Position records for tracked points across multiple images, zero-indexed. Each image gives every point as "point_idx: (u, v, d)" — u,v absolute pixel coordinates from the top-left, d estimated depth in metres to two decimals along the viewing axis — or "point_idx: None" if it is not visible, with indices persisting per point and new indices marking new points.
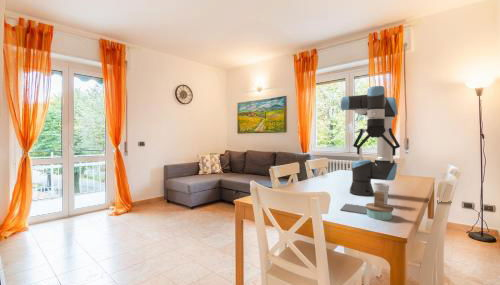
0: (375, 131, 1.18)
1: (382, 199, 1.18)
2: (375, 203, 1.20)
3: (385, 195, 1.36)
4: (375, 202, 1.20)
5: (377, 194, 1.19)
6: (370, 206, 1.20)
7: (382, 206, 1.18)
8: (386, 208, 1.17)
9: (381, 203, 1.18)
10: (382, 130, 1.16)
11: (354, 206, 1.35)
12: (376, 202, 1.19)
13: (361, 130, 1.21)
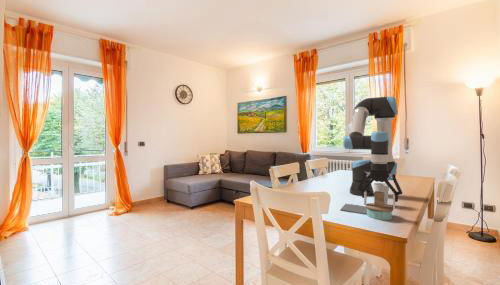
0: (379, 175, 1.19)
1: (382, 199, 1.18)
2: (375, 203, 1.20)
3: (385, 195, 1.36)
4: (375, 202, 1.20)
5: (377, 194, 1.19)
6: (370, 206, 1.20)
7: (382, 206, 1.18)
8: (386, 208, 1.17)
9: (381, 203, 1.18)
10: (386, 175, 1.18)
11: (354, 206, 1.35)
12: (376, 202, 1.19)
13: (365, 174, 1.22)
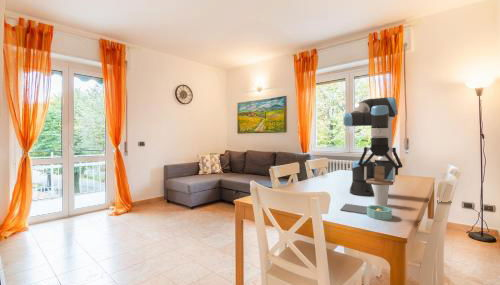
0: (379, 150, 1.19)
1: (382, 173, 1.18)
2: (375, 177, 1.19)
3: (385, 195, 1.36)
4: (375, 177, 1.19)
5: (377, 168, 1.19)
6: (370, 181, 1.20)
7: (382, 180, 1.18)
8: (386, 182, 1.17)
9: (381, 177, 1.18)
10: (386, 149, 1.17)
11: (354, 206, 1.35)
12: (376, 176, 1.19)
13: (365, 149, 1.22)
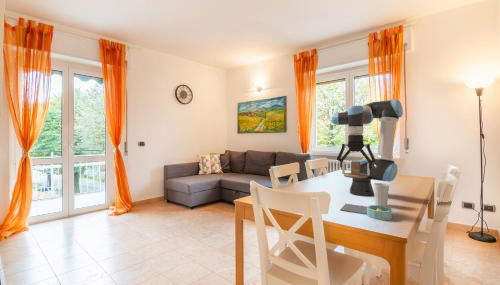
0: (355, 146, 1.30)
1: (358, 167, 1.29)
2: (351, 171, 1.31)
3: (385, 195, 1.36)
4: (352, 170, 1.31)
5: (353, 163, 1.30)
6: (347, 174, 1.32)
7: (358, 174, 1.29)
8: (361, 175, 1.28)
9: (357, 171, 1.29)
10: (361, 145, 1.29)
11: (354, 206, 1.35)
12: (352, 170, 1.31)
13: (343, 145, 1.34)
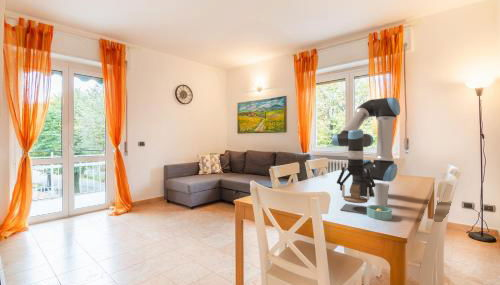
0: (355, 170, 1.31)
1: (357, 191, 1.29)
2: (351, 195, 1.31)
3: (385, 195, 1.36)
4: (352, 194, 1.31)
5: (353, 187, 1.30)
6: (347, 198, 1.32)
7: (357, 198, 1.29)
8: (361, 200, 1.28)
9: (357, 195, 1.30)
10: (361, 170, 1.29)
11: (354, 206, 1.35)
12: (352, 194, 1.31)
13: (343, 168, 1.34)
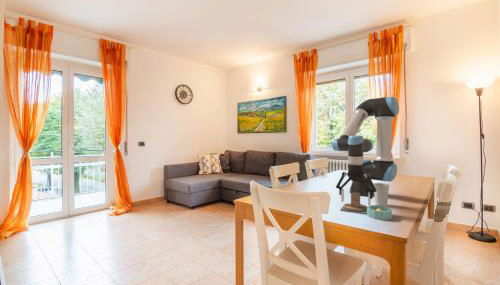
0: (355, 175, 1.31)
1: (358, 200, 1.30)
2: (351, 203, 1.31)
3: (385, 195, 1.36)
4: (352, 203, 1.31)
5: (353, 195, 1.31)
6: (347, 206, 1.32)
7: (358, 206, 1.30)
8: (361, 208, 1.29)
9: (357, 203, 1.30)
10: (361, 175, 1.29)
11: None
12: (352, 202, 1.31)
13: (343, 173, 1.34)
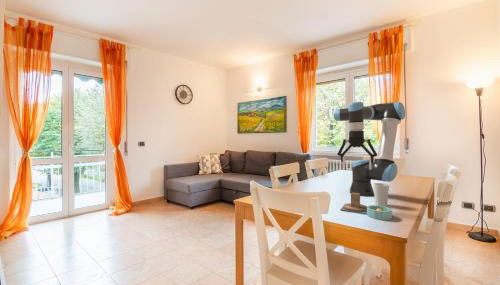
0: (356, 141, 1.34)
1: (357, 200, 1.30)
2: (351, 203, 1.31)
3: (385, 195, 1.36)
4: (352, 203, 1.31)
5: (353, 195, 1.31)
6: (347, 206, 1.32)
7: (358, 206, 1.30)
8: (361, 208, 1.29)
9: (357, 203, 1.30)
10: (362, 141, 1.32)
11: None
12: (352, 202, 1.31)
13: (344, 140, 1.37)
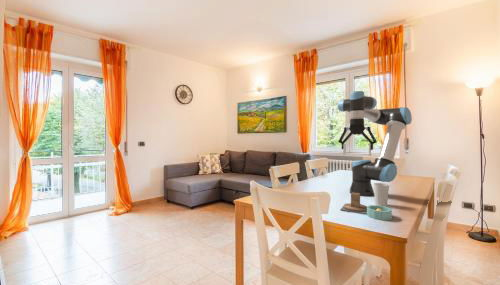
0: (356, 129, 1.39)
1: (358, 200, 1.30)
2: (351, 203, 1.31)
3: (385, 195, 1.36)
4: (352, 203, 1.31)
5: (353, 195, 1.31)
6: (347, 206, 1.32)
7: (358, 206, 1.30)
8: (361, 208, 1.29)
9: (357, 203, 1.30)
10: (362, 128, 1.37)
11: None
12: (352, 202, 1.31)
13: (345, 128, 1.42)
